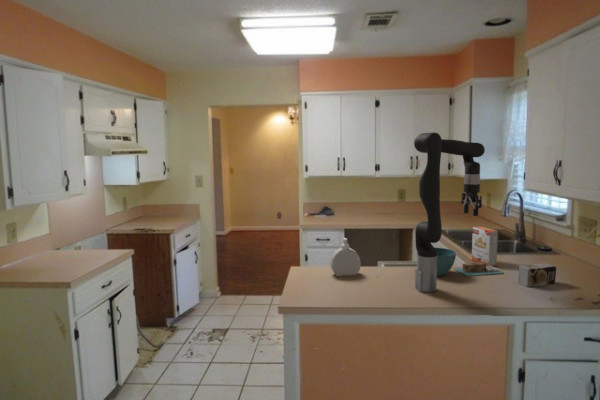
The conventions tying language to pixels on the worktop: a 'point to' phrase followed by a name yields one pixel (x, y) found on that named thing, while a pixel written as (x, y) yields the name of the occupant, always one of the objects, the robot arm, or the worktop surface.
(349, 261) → the soap bottle
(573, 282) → the worktop surface
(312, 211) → the worktop surface
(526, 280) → the coffee box
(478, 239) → the cracker box
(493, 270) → the tall cardboard-brown block
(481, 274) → the mat
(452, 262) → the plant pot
